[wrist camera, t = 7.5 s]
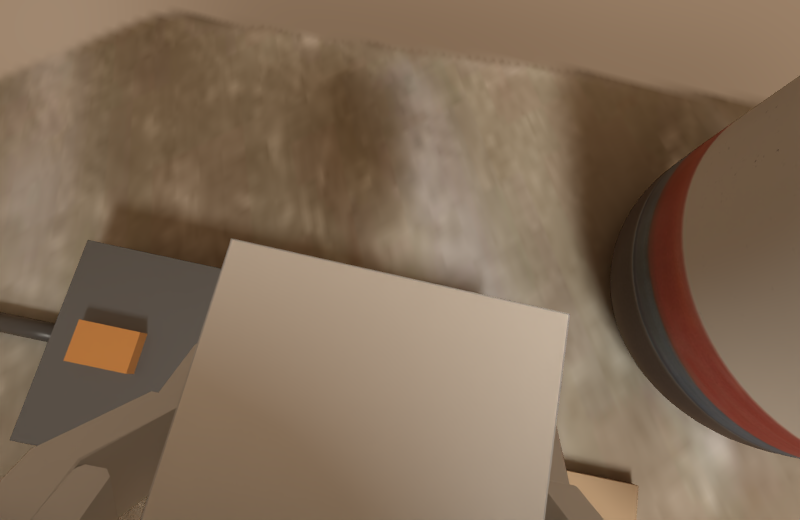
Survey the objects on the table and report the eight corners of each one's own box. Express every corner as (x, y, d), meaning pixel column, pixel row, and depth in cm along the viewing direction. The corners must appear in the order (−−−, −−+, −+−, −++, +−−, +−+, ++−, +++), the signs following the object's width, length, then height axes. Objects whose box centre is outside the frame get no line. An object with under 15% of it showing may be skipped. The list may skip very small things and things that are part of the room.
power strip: (456, 516, 26) (471, 540, 22) (-63, 409, 25) (-136, 415, 21) (485, 333, 28) (503, 326, 24) (14, 232, 28) (-40, 209, 24)
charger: (427, 510, 15) (519, 729, 6) (273, 475, 15) (102, 635, 6) (455, 353, 17) (569, 313, 7) (314, 322, 17) (231, 238, 7)
